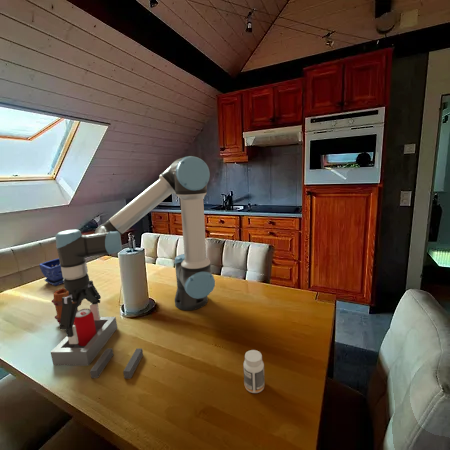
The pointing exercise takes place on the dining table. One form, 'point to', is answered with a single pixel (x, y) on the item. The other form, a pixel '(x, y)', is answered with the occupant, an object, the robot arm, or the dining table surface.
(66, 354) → the tray
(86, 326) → the beverage can
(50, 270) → the flower pot
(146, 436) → the dining table surface
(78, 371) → the dining table surface
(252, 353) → the pill bottle
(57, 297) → the mug
